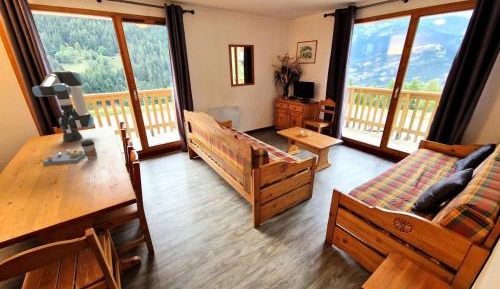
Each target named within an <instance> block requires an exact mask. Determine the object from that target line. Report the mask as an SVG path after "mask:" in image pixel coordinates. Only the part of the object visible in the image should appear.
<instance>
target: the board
mask: <svg viewBox="0 0 500 289" xmlns="http://www.w3.org/2000/svg"><path fill="white" fill-rule="evenodd" d="M71 152H72V151H71ZM71 152H70V153H71ZM57 153H58V152H56V153H55V154H53V155H50V156H51V157H52V158H53V159H52V160H47V158H45V159H44V160H43V161H42V164H43V166H45V165H46V166H47V165H61V164H76V163H79V162H81V161H82V160H83V159H85V158H87V157H86V155H85V153H84V150H82V153H83V154H81V155H80V156H79V157H70V156H69V153H66V151H65V152H63V151H62V152H60V153H62V156H60V157H58V156H57Z"/></svg>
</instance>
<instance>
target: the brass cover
mask: <svg viewBox="0 0 500 289" xmlns="http://www.w3.org/2000/svg"><path fill="white" fill-rule="evenodd" d="M82 151H83V150H82V149H79V150H75V149H74V150H72V151H71V153H69V156H70V157H79V156H80V155H81V154H83V153H82Z"/></svg>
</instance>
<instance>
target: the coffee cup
mask: <svg viewBox="0 0 500 289" xmlns="http://www.w3.org/2000/svg"><path fill="white" fill-rule="evenodd" d="M80 145H81V147H82V149H83V150H82V151H84V153H85V155H86V157H85V158H86V159H87V161H89V162H91V161H95V160H97V159H98V155H97V154H98V153H97V150H96V145H95V142H94V141H93V140H91V139H89V140H84V141H81V144H80Z"/></svg>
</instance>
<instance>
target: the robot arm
mask: <svg viewBox="0 0 500 289" xmlns="http://www.w3.org/2000/svg"><path fill="white" fill-rule="evenodd" d="M83 84H84V80H83V77H82V75H81V74H80V72H79V71H77V70H62V71H61V70H60V71H59V70H57V71H53V72H52V71H51V72H50V73H48V74H47V75H46V76H45V77H44V80H43V81H42V83H41V84H40V85H37V86H36V85H35V86H33V87H32V88H31V89H32V93H33V94H34V96H35V97H53V96H56V98H57V101H58V104H59V107H60V110H62V111H61V112H60V116H61V117H60V118H59V119H58V123H59V125H60V128H61V130H62V135H63V136H62V140H63V142H65V143H71V142H76V141H80V140H81V139H83V137H84V136H83V134H82V133H81V132H80V130H78V129H84V128H85V129H86V128H92V127H94V126H95V122H94V120H95V117H94V115H92V114H91V113H90V112H89V111H88V107H87V103H86V100H85V97H84V94H83V90H82V87H83ZM70 95H71V96H70ZM71 97H72V99H71ZM72 101H73V102H72ZM72 103H73V104H74V106H73V104H72ZM74 107H75V108H74Z"/></svg>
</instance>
